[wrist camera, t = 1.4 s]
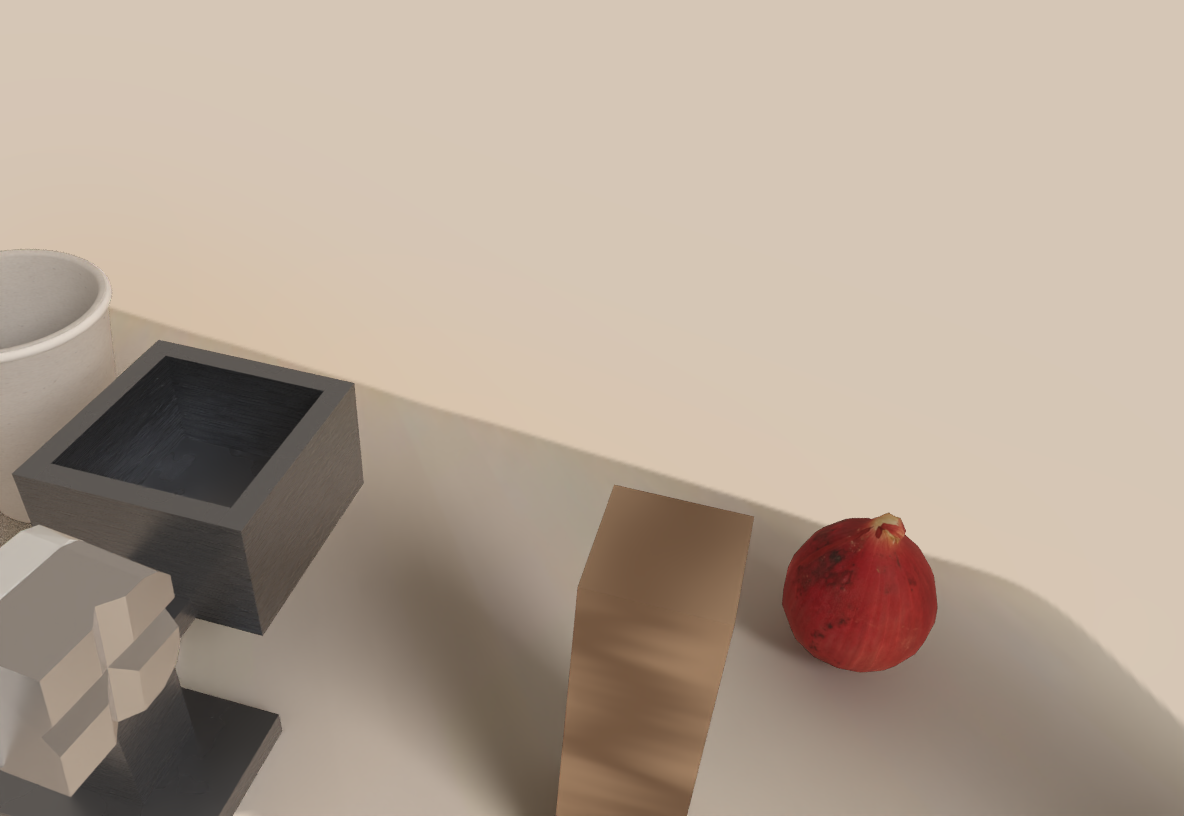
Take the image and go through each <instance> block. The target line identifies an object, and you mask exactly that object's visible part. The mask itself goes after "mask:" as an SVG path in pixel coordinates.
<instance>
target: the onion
mask: <svg viewBox="0 0 1184 816" xmlns="http://www.w3.org/2000/svg"><path fill="white" fill-rule="evenodd" d="M905 532H906V530H905V528H904V525H903V523H902V520H901V518H898V517H895V516H893V515H891V514H890V513H887V514H884V515H882V516H880V517H876V518H874V519H870V518H850V519H845V520H842V521H839V522H836V523H833V524H831V525H828V526H826V527H823V528H822V529H820V530H818V531H817V532H815V533H814V534H813V535H812V536H811V537H810V538H809V539H808V540H807V541H806V542H805V544H804V545H803V546H802V547H801V548H800V549H799V550H798V551H797V552H796V553H795V554H794V556H793V558H792V560H791V562H790V564H789V566H788V570H787V575H786V580H785V584H784V590H783V600H782V605H783V608H784V611H785V614H786V616H787V619H788V622H789V624H790V627H791V630H792V632H793V634H794V636H795V639H796V640H797V641H798V642H799V643H800V644H801V645H802V646H803V647H805V648H806V649H807V650H808V651H809V652H810V653H811V654H812V655H813V656H814V657H816V658H818V659H820V660H822V661H824V662H826V663H828V664H830V665H832V666H834V667H837V668H841V669H846V670H851V671H856V672H871V671H881V670H886V669H888V668H891V667H894V666H896V665H898V664H899V663H901V662H903V661H904V660H906V659H908V658H909V657H911V656H913V655H914V654H915V653H916V652H917V651H918V649H919V648H920V647H921V646H922V644H923V643H924V641H925V640H926V638H927V636H928V634H929V632H930V630H931V629H932V627H933V625H934V623H935V619H936V613H937V598H936V588H935V581H934V575H933V573H932V570H931V568H930V566H929V564H928V562H927V560H926V559H925V557H924V555H923V553H922V552H921V550H920V549H919V547H918V546H917V545H916V544H915V543H914V542H912V540H910V539H909V538H908V537H907V536H906V535H905Z"/></svg>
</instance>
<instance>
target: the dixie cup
mask: <svg viewBox="0 0 1184 816" xmlns="http://www.w3.org/2000/svg"><path fill="white" fill-rule="evenodd" d="M111 297H112V287H111V283H110V281H109V278H108V277H107V275H106V274H105V273H104V272H103V271H102V270H101V269H100V268H99V267H98V266H96V265H95V264H93V263H91V262H89V261H87V260H85V259H83V258H80V257H77V256H74V255H71V254H67V253H63V252H58V251H50V250H39V249H17V250H5V251H0V511H1V512H2V513H3V514H4V515H6V516H7V517H9V518H12V519H14V520H17V521H21V522H26V523H31V522H30V519H29V517H28V514H27V511H26V509H25V506H24V504H23V501H22V499H21V496H20V494H19V491H18V488H17V486H16V483H15V481H14V478H13V476H12V473H13V472H14V471H15V470H16V469H18V468H19V467H20V466H21V465H22V464H23V463H24V462H25V461H26V460H27V459H29V458H30V457H31V456H32V455H33V454H34V453H35V452H36V451H37V450H38V449H40V448H41V447H42V446H43V445H44V444H45V443H46V442H47V441H48V440H49V439H51V438H52V437H53V436H54V435H55V434H56V433H57V432H58V431H59V430H60V429H62V428H63V427H64V426H65V425H66V424H67V423H68V422H69V421H70V420H71V419H73V418H74V417H75V416H76V415H77V414H78V413H79V412H80V411H81V410H82V409H84V408H85V407H86V406H87V405H88V404H89V403H90V402H91V401H92V400H93V399H94V398H96V397H97V396H98V395H99V394H100V393H101V392H102V391H103V390H104V389H105V388H107V387H108V386H109V385H110V384H111V383H112V382H113V381H114V380H115V379H116V378H117V377H116V369H115V360H114V351H113V342H112V334H111V325H110V316H109V307H108V306H109V304H110V301H111Z"/></svg>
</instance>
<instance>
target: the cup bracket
mask: <svg viewBox="0 0 1184 816" xmlns="http://www.w3.org/2000/svg"><path fill="white" fill-rule="evenodd" d="M12 476H13V478H14V481H15V483H16V486H17V488H18V491H19V494H20V496H21V499H22V501H23V504H24V506H25V509H26V511H27V514H28V517H29V519H30V522H31V524H32V527H34V526H37V525H42V526H44V527H47V528H50V529H52V530H55V531H58V532H61V533H63V534H66V535H69V536H71V537H74V538H77V539H80V540H82V541H84V542H86V543H89V544H91V545H94V546H97V547H99V548H102V549H104V550H107V551H109V552H112V553H115V554H117V555H120V556H122V557H125V558H127V559H130V560H133V561H135V562H138V563H140V564H143V565H146V566H148V567H151V568H153V569H156V570H158V571H161V572H164V573H166V574H169V575H171V581H172V586H173V591H174V596H175V598H174V599H173V600H172V601H171V602H170V603H169V604H168V605H167V606H166V607H165V609H166V610H167V612H168V613H169V614H170V616H171V617H172V618H173V620H174V621H175V622H176V624H177V625H178V626H179V634H180V638H181V637H182V635H183V634H184V633H185V631H186V630H187V629H188V627H189V626H190V625H191V623H192V622H193V621H194V619H195V618H198V619H202V620H206V621H209V622H213V623H217V624H221V625H224V626H228V627H232V628H236V629H239V630H243V631H247V632H251V633H254V634H258V635H262V636H263V634H264V633H265V631H266V630H267V628H268V627H269V625H270V624H271V622H272V621H273V619H274V618H275V616H276V615H277V613H278V612H279V610H280V609H281V607H282V606H283V604H284V603H285V601H286V600H287V598H288V597H289V595H290V594H291V592H292V591H293V589H294V587H295V586H296V584H297V583H298V581H299V580H300V578H301V577H302V575H303V574H304V572H305V571H306V569H307V568H308V566H309V565H310V563H311V562H312V560H313V559H314V557H315V556H316V554H317V553H318V551H319V550H320V548H321V547H322V545H323V544H324V542H325V541H326V539H327V538H328V536H329V535H330V533H331V532H332V530H333V529H334V527H335V525H336V524H337V522H338V521H339V519H340V518H341V516H342V515H343V513H344V512H345V510H346V509H347V507H348V506H349V504H350V503H351V501H352V500H353V498H354V497H355V495H356V494H357V492H358V491H359V489H360V488H361V486H362V485H363V483H364V482H363V471H362V461H361V450H360V440H359V429H358V419H357V408H356V397H355V387H354V383H351V382H347V381H342V380H338V379H333V378H329V377H324V376H320V375H315V374H311V373H306V372H302V371H297V370H293V369H288V368H283V367H279V366H274V365H270V364H265V363H261V362H256V361H252V360H247V359H243V358H238V357H234V356H229V355H225V354H220V353H216V352H211V351H207V350H202V349H198V348H193V347H189V346H184V345H179V344H175V343H170V342H166V341H161V340H158V341H157V342H156V343H155V344H154V345H153V346H152V347H151V348H149V349H148V350H147V351H146V352H145V353H144V354H143V355H142V356H141V357H140V358H138V359H137V360H136V361H135V362H134V363H133V364H132V365H131V366H130V367H129V368H127V369H126V370H125V371H124V372H123V373H122V374H121V375H120V376H119V377H118V378H116V379H115V380H114V381H113V382H112V383H111V384H110V385H109V386H108V387H107V388H105V389H104V390H103V391H102V392H101V393H100V394H99V395H98V396H97V397H96V398H94V399H93V400H92V401H91V402H90V403H89V404H88V405H87V406H86V407H85V408H84V409H82V410H81V411H80V412H79V413H78V414H77V415H76V416H75V417H74V418H73V419H71V420H70V421H69V422H68V423H67V424H66V425H65V426H64V427H63V428H62V429H60V430H59V431H58V432H57V433H56V434H55V435H54V436H53V437H52V438H51V439H49V440H48V441H47V442H46V443H45V444H44V445H43V446H42V447H41V448H40V449H38V450H37V451H36V452H35V453H34V454H33V455H32V456H31V457H30V458H29V459H27V460H26V461H25V462H24V463H23V464H22V465H21V466H20V467H19V468H18V469H16V470H15V471H14V472H13V473H12ZM281 732H282V727H281V722H280V717H279V715H278V714H275V713H271V712H268V711H264V710H261V709H257V708H253V707H250V706H246V705H243V704H239V703H235V702H232V701H228V700H225V699H221V698H218V697H214V696H210V695H207V694H203V693H200V692H196V691H192V690H189V689H185V688H182V687H181V686H180V683H179V680H178V676H177V673H176V670H175V667H174V669H173V671H172V673H171V675H170V677H169V679H168V681H167V683H166V685H165V687H164V689H163V690H162V691H161V692H160V693H159V695H158V696H157V697H156V698H155V699H154V701H153V702H152V703H151V704H150V706H149V707H148V708H147V709H146V710H145V711H143V712H140V713H138V714H136V715H133V716H131V717H129V718H126V719H124V720H122V721H119V722H118V729H117V743H116V745H115V746H114V748H113V749H112V750H111V751H110V752H109V753H108V755H107V756H106V757H105V758H104V759H103V760H102V761H101V763H100V764H99V765H98V766H97V767H96V768H95V769H94V771H93V772H92V773H91V774H90V775H89V776H88V778H87V779H86V780H85V781H84V782H83V783H82V784H81V786H80V787H79V788H78V789H77V790H76V791H75V793H74V794H73V795H72V796H71V797H70V796H67V795H64V794H62V793H59V792H56V791H54V790H51V789H49V788H46V787H43V786H41V785H38V784H35V783H33V782H30V781H27V780H25V779H22V778H20V777H17V776H14V775H12V774H9V773H6V772H4V771H1V770H0V816H233V814H234V812H235V810H236V809H237V807H238V805H239V804H240V802H241V800H242V799H243V797H244V795H245V793H246V792H247V790H248V788H249V787H250V785H251V783H252V781H253V780H254V778H255V776H256V775H257V773H258V771H259V769H260V768H261V766H262V764H263V763H264V761H265V759H266V757H267V756H268V754H269V752H270V751H271V749H272V747H273V745H274V744H275V742H276V740H277V739H278V737H279V735H280V734H281Z"/></svg>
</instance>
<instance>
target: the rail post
mask: <svg viewBox="0 0 1184 816" xmlns="http://www.w3.org/2000/svg"><path fill="white" fill-rule="evenodd" d="M753 520H754V517H753V516H749V515H745V514H740V513H736V512H731V511H727V510H723V509H718V508H714V507H710V506H705V505H701V504H696V503H692V502H688V501H683V500H679V499H675V498H670V497H666V496H661V495H657V494H653V493H648V492H644V491H640V490H635V489H631V488H626V487H622V486H618V485H614V487H613V490H612V493H611V495H610V498H609V501H608V504H607V507H606V509H605V512H604V515H603V518H602V521H601V523H600V526H599V529H598V532H597V535H596V537H595V540H594V543H593V546H592V549H591V551H590V554H589V557H588V560H587V563H586V565H585V568H584V571H583V574H582V576H581V579H580V582H579V585H578V589H577V600H576V610H575V621H574V631H573V641H572V652H571V662H570V673H569V683H568V694H567V704H566V714H565V725H564V735H563V746H562V756H561V767H560V777H559V787H558V798H557V808H556V816H687V813H688V809H689V805H690V801H691V797H692V793H693V789H694V785H695V781H696V777H697V773H698V769H699V765H700V761H701V757H702V753H703V749H704V745H705V741H706V737H707V733H708V729H709V725H710V721H711V717H712V713H713V709H714V705H715V701H716V697H717V693H718V689H719V685H720V681H721V677H722V673H723V669H724V665H725V661H726V657H727V653H728V649H729V645H730V641H731V637H732V633H733V629H734V625H735V620H736V614H737V609H738V603H739V598H740V592H741V587H742V581H743V576H744V570H745V565H746V559H747V554H748V548H749V542H750V537H751V531H752V526H753Z"/></svg>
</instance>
